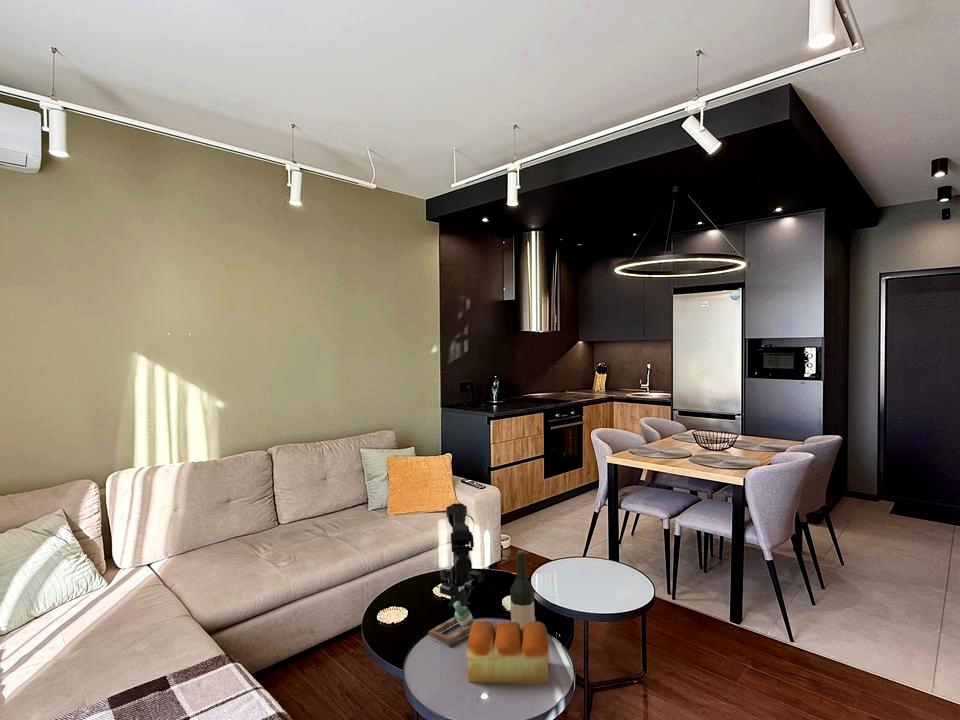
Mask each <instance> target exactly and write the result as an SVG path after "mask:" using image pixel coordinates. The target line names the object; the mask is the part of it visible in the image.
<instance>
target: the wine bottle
mask: <svg viewBox="0 0 960 720" xmlns="http://www.w3.org/2000/svg"><path fill="white" fill-rule="evenodd" d="M509 592H510V622H517V623H519V625H520V628H521V636H522V627H523V625H524V624H525V623H527V622H536V621H535V618H536V617H535V590H534V587H533V586H532V584H531V583H530V580H529V579H528V577H527V553H526V552H525V550H523V549H519V550H517V553H516V578H515V580H514V581H513V583H512V585H511V587H510V589H509Z"/></svg>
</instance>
